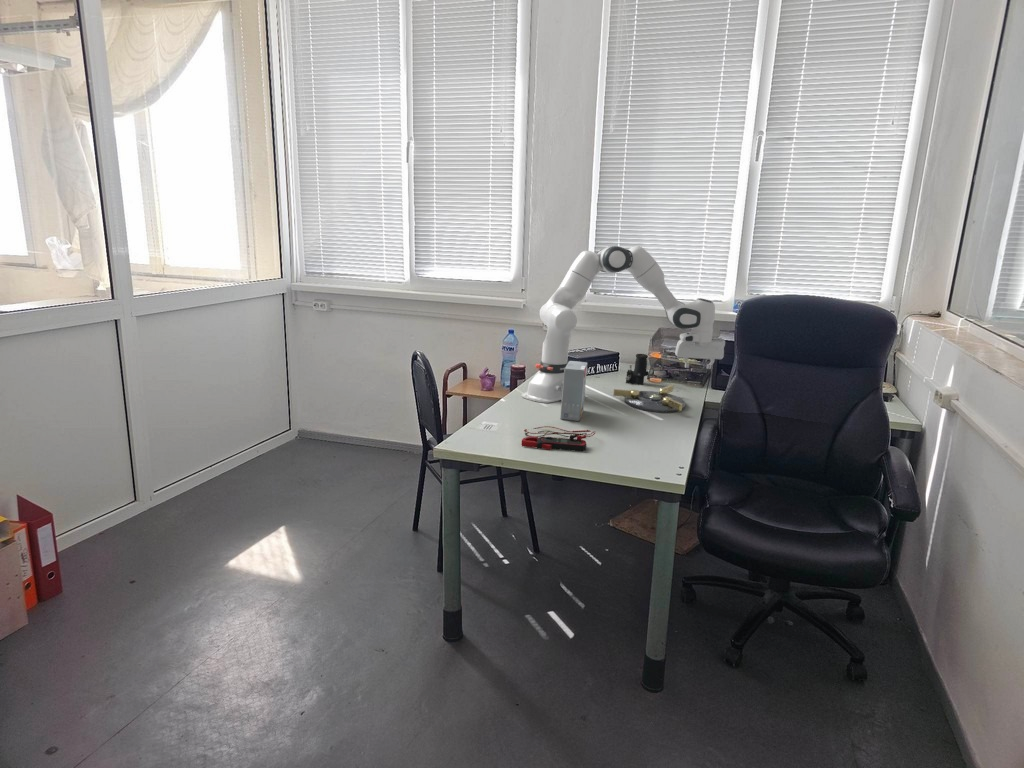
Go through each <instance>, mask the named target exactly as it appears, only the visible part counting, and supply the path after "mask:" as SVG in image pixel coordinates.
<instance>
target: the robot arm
mask: <svg viewBox="0 0 1024 768" xmlns="http://www.w3.org/2000/svg"><path fill="white" fill-rule="evenodd" d="M625 270H627V272H629V273H630V274H631V275H632V276H633V278H634V279H635V281H636V282H637V283H638V284H639V285H640V286H641V287H642V288H644V289H645V290H646V291H648V292H650V293H651V294H652V295H654V297H655V299H657V300H658V302H659V303H660V304H661V306H662V307H663V309H664V310H665V315H666V318H667V321H668V322H669V323H670V324H671V325H674V326H675V327H676V328H677V329H681V330H686V329H691V331H687V332H683V333H680V334H679V340H678V341H677V344H676V347H675V350H674V351H675V353H674V354H675V356H676V357H677V358H682V360H683V363H684V368H686V369H689V368H690V363H688V362H687V361H688V359H700V360H701V359H703V360H704V359H706V360H709V361H710V362H709V363H706V369H707V370H711V369H712V365H713V364H714V363H715V361H716V360H723V358H724V356H725V349H724V348H725V346H726V340H725V338H723V337H715V336H714V334H713V333H714V327H713V325H714V323H715V318H716V317H715V316H716V305H715V303H714V302H713V301H711V300H710V299H705V298H699V297H698V298H696V299H695V300H693V301H691V302H690V303H687V304H685V303H684V302H681V301H680V300H678V299H677V298H676V297H675V296H674V295H673V293H672V292H671V290H670V289H669V287H667V284H666V283H665V274H664V272H663V269H662V267H661V266H660V265H659V263H658V262H657V261H656V259H654V257H653V256H652V255H651V254H650V253H649V252H648V251H647V250H646V249H645V248H643V247H642V246H640V245H634V246H632V247H630V248H628V249H627V248H624V247H621V246H618V245H610V246H606V247H603V248H602V249H600V250H599V251H597V252H594V251H592V250H583V251H581V252H580V253H579V254H578V255H577V256H576V258H575V259H574V261H572V264H571V265H570V267H569V269H568V270H567V272H566V274H565V276H564V278H563V279H562V281H561V283H560V285H559V286H558V287H557V289H556V290H555V291H554V293H552V295H551V296H550V298H549V299H548V300H547V301H546V303H544V304H543V305H542V306H541V307H540V309H539V318H540V321H541V322H542V323H543V324H544V326H546V327H547V329H546V330H547V331H546V335H545V339H544V340H543V342H542V351H541V360H540V363H536V364H535V369H538V371H537V372H536V373H535V375H534V376H533V377H532V379H531V380H530V381H529V382H528V386H527V391H525V392H523V393H521V397H522V398H524V399H526V400H529V401H532V402H537V403H544V404H547V403H554V402H558V401H562V392H563V380H564V369H565V367H566V365H567V364H568V362H569V360H568V359H569V358H568V357H569V347H570V342H571V338H572V335H573V331H574V329H575V327H576V326H577V323H578V319H577V315H576V314H575V312H574V311H573V309H574V307H575V306H576V305H578V303H579V302H580V301H582V300H583V299H584V297H585V295H586V294H587V292H588V290H589V289H590V286H591V285H592V283H593V281H594V280H595V278H596V277H597V274H598V273H599V272H601V273H606V274H615V273H620V272H621V273H622V272H623V271H625ZM713 336H714V337H713Z"/></svg>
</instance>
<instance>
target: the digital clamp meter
mask: <svg viewBox="0 0 1024 768" xmlns="http://www.w3.org/2000/svg"><path fill="white" fill-rule="evenodd" d="M536 428H537V429H541V428H553V429H557V430H560V431H564V432H559V431H551V430H546V433H545V430H541V431H540V430H539V431H538V433H536V432H529V431H528V430H527V429H526V428H525V429H524V432H526V433H524V435H525V436H526V437H523V438H522V439H521V445H522V446H521V447H523V446H526V448H534V447H537V448H536V449H538V448H540V449H544V450H547V451H549V450H559V449H562V450H561V451H571V450H575V451H574V452H585V451H586V450H587V442H586V440H585V439H587V438H591V437H593V436H595V434H596V431H595V430H593V431H591V430H589V429H587V430H573V431H569V430H566V429H562V428H559V427H555V426H548V425H547V426H545V425H544V426H538V427H533V430H535V429H536ZM588 432H591V433H588ZM541 433H545V434H543V435H542V434H541ZM587 433H588V434H587ZM529 434H530V435H529ZM538 434H540V435H538ZM572 434H573V435H572ZM534 435H537V436H534ZM549 435H558V436H561V437H552V436H549ZM568 435H569V436H568ZM564 437H565V438H564ZM566 437H567V438H566Z"/></svg>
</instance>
